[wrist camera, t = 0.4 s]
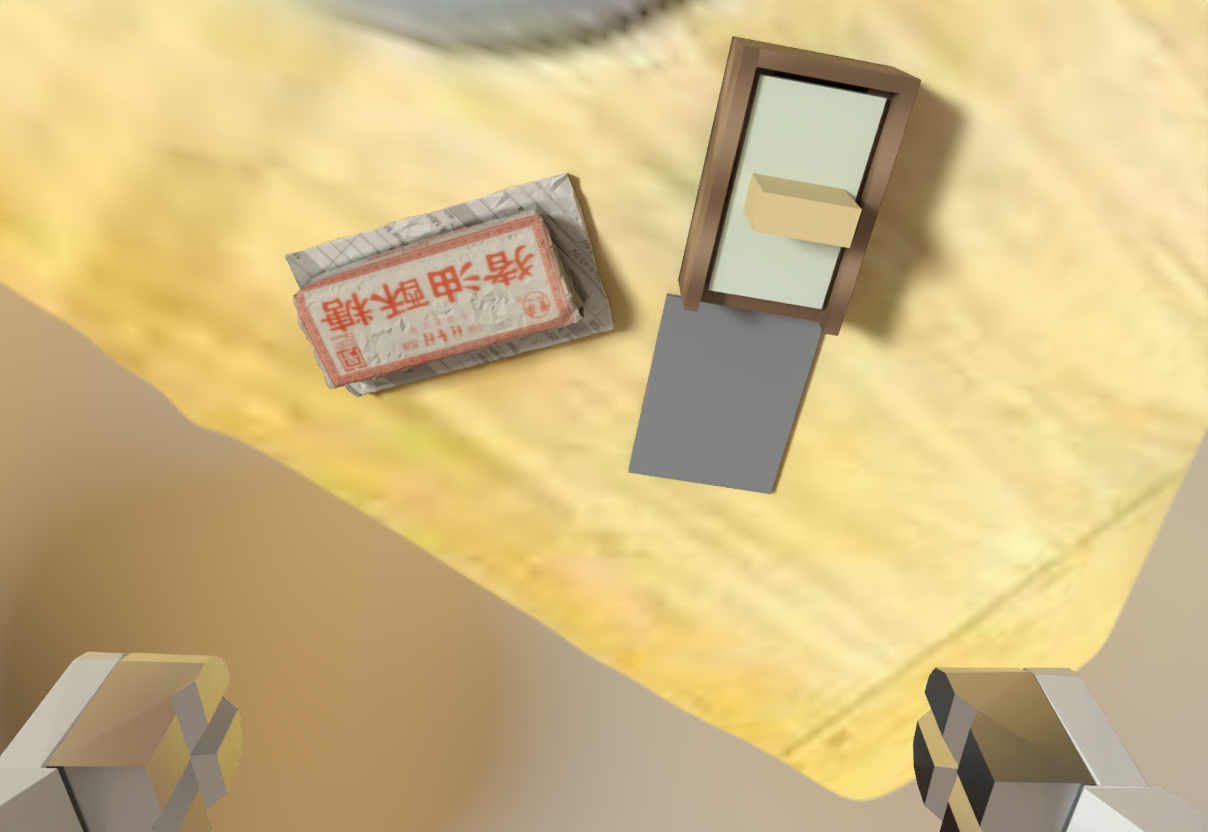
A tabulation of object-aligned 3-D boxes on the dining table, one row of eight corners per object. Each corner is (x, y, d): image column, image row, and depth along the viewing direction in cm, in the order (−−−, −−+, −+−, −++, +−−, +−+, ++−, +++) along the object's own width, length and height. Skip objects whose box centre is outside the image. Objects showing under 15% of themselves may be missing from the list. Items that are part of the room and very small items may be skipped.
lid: (758, 72, 45) (772, 86, 41) (882, 96, 46) (910, 112, 41) (706, 285, 51) (715, 316, 46) (818, 303, 51) (836, 337, 47)
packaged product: (335, 425, 54) (261, 276, 50) (355, 389, 59) (289, 250, 54) (616, 351, 52) (565, 187, 47) (616, 320, 56) (569, 167, 52)
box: (732, 36, 48) (744, 46, 43) (893, 66, 48) (920, 80, 44) (678, 279, 54) (683, 310, 50) (820, 303, 55) (837, 335, 50)
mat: (666, 293, 55) (667, 296, 54) (823, 319, 55) (824, 322, 55) (628, 469, 61) (628, 472, 60) (769, 490, 61) (770, 494, 61)
